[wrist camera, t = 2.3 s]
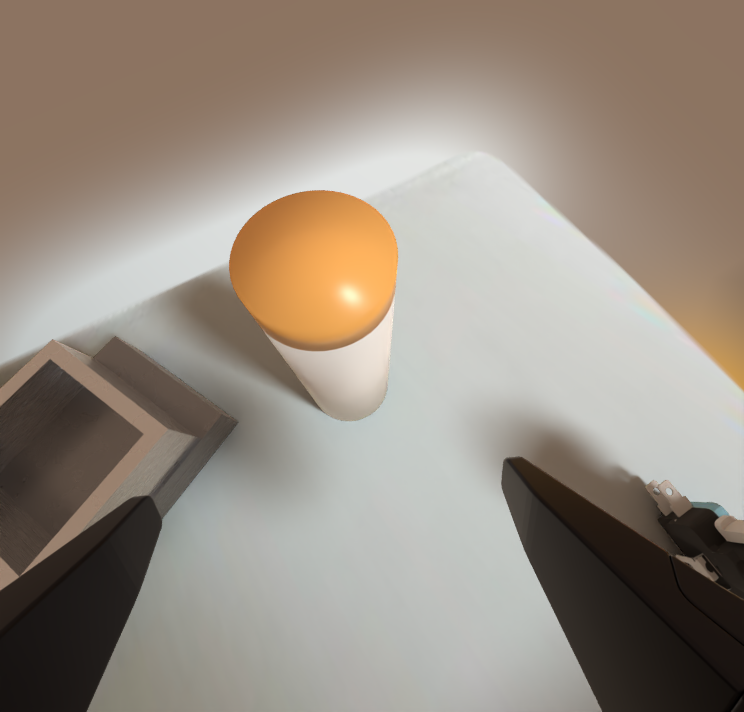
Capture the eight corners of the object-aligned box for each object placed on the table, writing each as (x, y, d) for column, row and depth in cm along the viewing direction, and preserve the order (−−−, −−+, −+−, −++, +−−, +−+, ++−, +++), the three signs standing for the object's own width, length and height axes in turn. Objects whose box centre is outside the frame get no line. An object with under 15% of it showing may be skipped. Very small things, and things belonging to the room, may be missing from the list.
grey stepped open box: (90, 609, 19) (-20, 655, 13) (-10, 508, 20) (-140, 515, 15) (238, 422, 22) (196, 402, 17) (140, 350, 24) (75, 313, 19)
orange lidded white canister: (360, 436, 22) (332, 364, 9) (297, 394, 23) (193, 276, 10) (401, 372, 23) (429, 233, 10) (340, 335, 24) (298, 168, 11)
